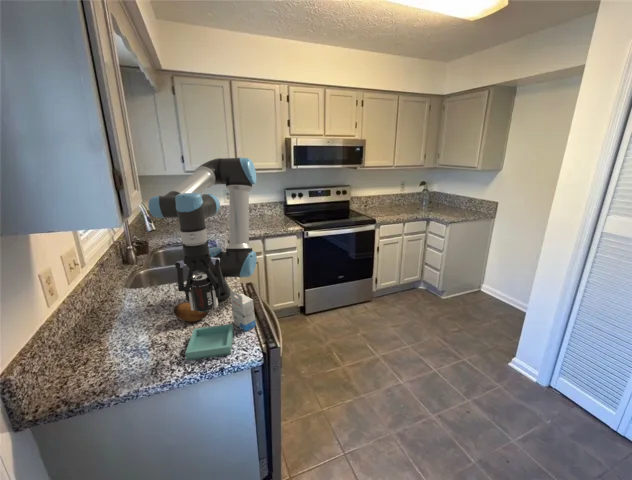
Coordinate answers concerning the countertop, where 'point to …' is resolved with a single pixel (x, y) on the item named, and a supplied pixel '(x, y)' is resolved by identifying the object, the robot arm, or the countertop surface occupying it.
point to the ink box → (243, 311)
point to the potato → (188, 312)
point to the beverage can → (202, 292)
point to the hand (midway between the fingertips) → (204, 307)
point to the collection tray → (210, 342)
